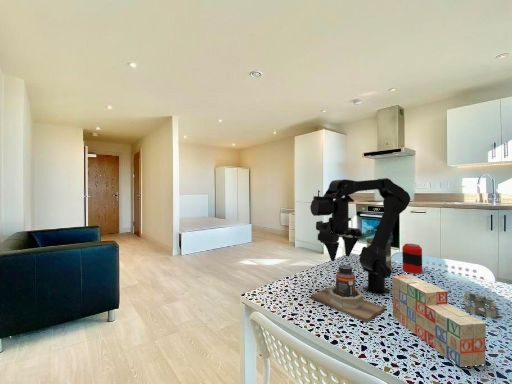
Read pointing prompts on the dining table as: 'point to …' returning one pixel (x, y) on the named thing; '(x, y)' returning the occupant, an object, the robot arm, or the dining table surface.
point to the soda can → (412, 258)
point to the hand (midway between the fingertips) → (340, 258)
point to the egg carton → (479, 305)
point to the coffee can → (387, 252)
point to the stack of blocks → (438, 320)
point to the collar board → (355, 313)
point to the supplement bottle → (345, 282)
